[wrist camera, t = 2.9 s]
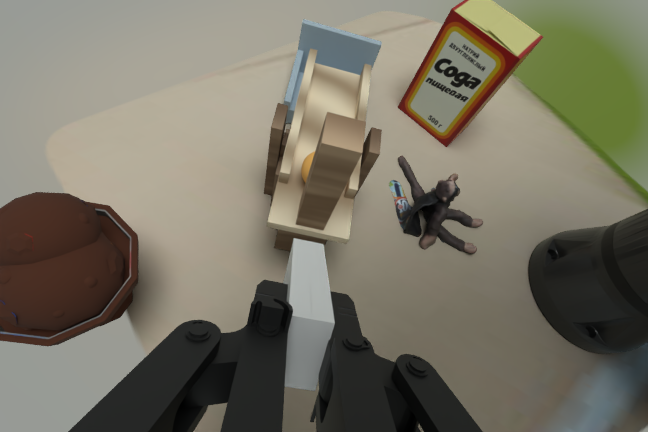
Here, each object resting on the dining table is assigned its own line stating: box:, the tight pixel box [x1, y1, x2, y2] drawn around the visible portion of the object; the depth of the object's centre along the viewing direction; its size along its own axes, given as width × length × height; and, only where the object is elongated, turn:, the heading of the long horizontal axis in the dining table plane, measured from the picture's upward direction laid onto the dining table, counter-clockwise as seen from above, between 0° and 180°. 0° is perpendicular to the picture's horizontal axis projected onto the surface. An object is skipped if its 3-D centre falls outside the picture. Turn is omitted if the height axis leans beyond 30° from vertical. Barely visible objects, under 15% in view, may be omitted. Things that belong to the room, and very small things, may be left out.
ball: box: [301, 151, 315, 183], centre depth 30 cm, size 4×4×4 cm
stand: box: [264, 103, 382, 251], centre depth 37 cm, size 11×10×12 cm
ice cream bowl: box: [0, 192, 138, 346], centre depth 27 cm, size 11×11×15 cm
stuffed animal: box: [389, 156, 483, 253], centre depth 46 cm, size 12×10×12 cm
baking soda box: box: [398, 0, 543, 147], centre depth 47 cm, size 10×6×16 cm
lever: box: [267, 48, 372, 244], centre depth 30 cm, size 20×7×12 cm, turn 172°
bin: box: [284, 19, 381, 124], centre depth 47 cm, size 11×11×8 cm
